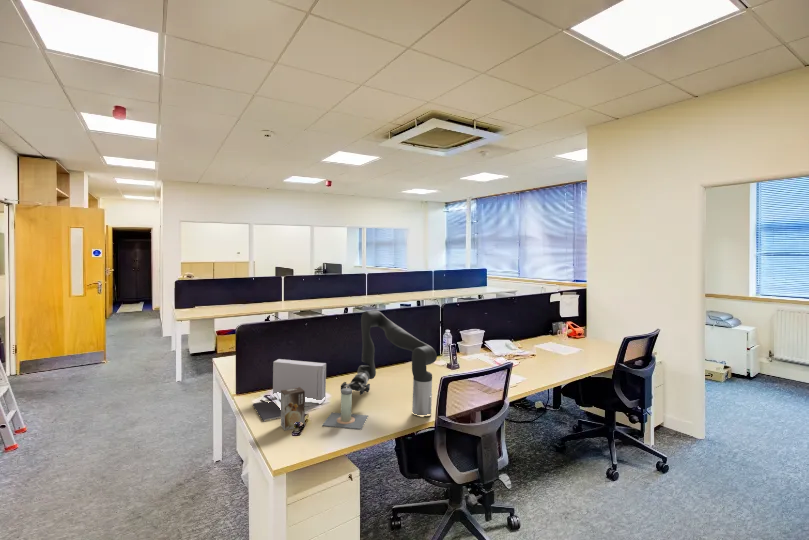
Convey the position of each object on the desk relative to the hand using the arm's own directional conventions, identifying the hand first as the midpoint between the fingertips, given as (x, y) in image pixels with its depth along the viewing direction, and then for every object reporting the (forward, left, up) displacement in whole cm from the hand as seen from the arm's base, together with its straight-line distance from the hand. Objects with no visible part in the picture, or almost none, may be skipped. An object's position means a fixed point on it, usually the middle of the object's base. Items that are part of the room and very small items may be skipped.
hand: (351, 392), depth 186 cm
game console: (+31, -10, -10) cm, 34 cm away
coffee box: (+22, +19, -10) cm, 31 cm away
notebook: (+39, +5, -11) cm, 41 cm away
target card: (0, +10, -10) cm, 14 cm away
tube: (0, +10, -9) cm, 14 cm away
